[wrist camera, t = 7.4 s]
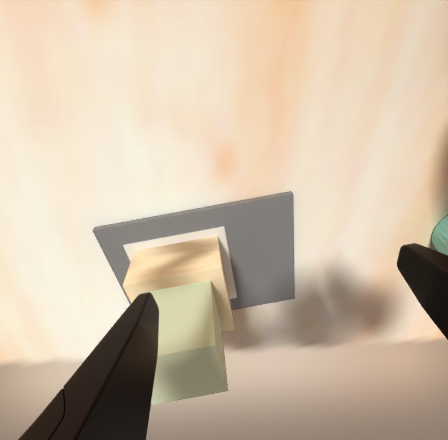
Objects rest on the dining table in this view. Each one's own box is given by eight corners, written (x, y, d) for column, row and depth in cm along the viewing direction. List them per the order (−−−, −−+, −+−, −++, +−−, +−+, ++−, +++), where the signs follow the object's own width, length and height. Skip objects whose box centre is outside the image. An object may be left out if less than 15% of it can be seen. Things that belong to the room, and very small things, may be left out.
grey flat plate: (291, 191, 20) (293, 194, 20) (292, 294, 26) (294, 299, 26) (94, 227, 20) (92, 231, 20) (142, 322, 26) (141, 327, 26)
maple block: (217, 235, 21) (221, 267, 18) (229, 294, 25) (234, 330, 21) (134, 250, 21) (122, 285, 18) (158, 307, 25) (152, 345, 21)
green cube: (210, 280, 18) (215, 345, 14) (221, 324, 21) (228, 390, 16) (141, 292, 18) (124, 362, 14) (160, 335, 21) (151, 405, 16)
